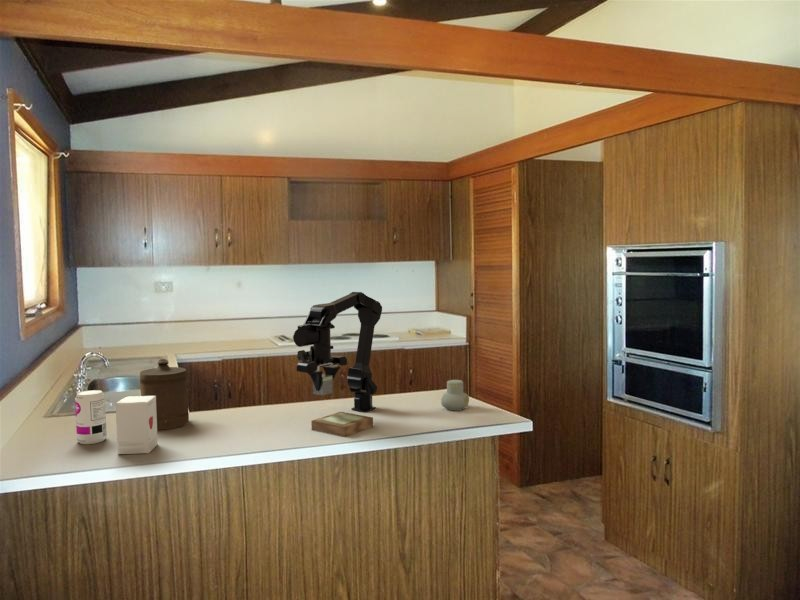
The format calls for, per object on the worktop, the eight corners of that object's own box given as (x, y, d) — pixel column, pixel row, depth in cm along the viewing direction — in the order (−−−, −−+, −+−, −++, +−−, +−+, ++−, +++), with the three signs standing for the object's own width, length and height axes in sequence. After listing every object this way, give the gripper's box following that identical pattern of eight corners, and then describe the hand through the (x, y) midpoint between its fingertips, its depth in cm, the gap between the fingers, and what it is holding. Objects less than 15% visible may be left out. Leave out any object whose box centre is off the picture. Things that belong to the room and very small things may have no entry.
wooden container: (166, 416, 223) (163, 354, 222) (198, 421, 217) (195, 357, 215) (131, 427, 210) (128, 361, 208) (164, 432, 203) (161, 364, 202)
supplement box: (149, 453, 182) (147, 402, 180) (116, 455, 181) (114, 403, 180) (158, 444, 191) (156, 395, 190) (127, 445, 190) (125, 395, 189)
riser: (340, 420, 215) (340, 410, 215) (373, 426, 207) (372, 416, 207) (311, 429, 204) (311, 420, 204) (344, 436, 196) (344, 426, 196)
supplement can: (76, 446, 190) (73, 396, 189) (78, 439, 197) (75, 391, 196) (106, 442, 193) (104, 393, 192) (107, 435, 200) (104, 388, 199)
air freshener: (448, 404, 236) (448, 377, 235) (470, 406, 233) (470, 379, 232) (439, 411, 226) (439, 383, 225) (462, 413, 223) (462, 385, 222)
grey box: (322, 391, 216) (322, 373, 216) (332, 392, 213) (332, 375, 213) (313, 393, 212) (312, 375, 212) (323, 395, 210) (322, 377, 209)
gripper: (323, 338, 224) (324, 381, 225) (284, 344, 209) (285, 391, 210) (347, 340, 217) (348, 385, 218) (308, 347, 202) (309, 395, 204)
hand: (322, 389), depth 213 cm, fingers closed on grey box, 5 cm apart
